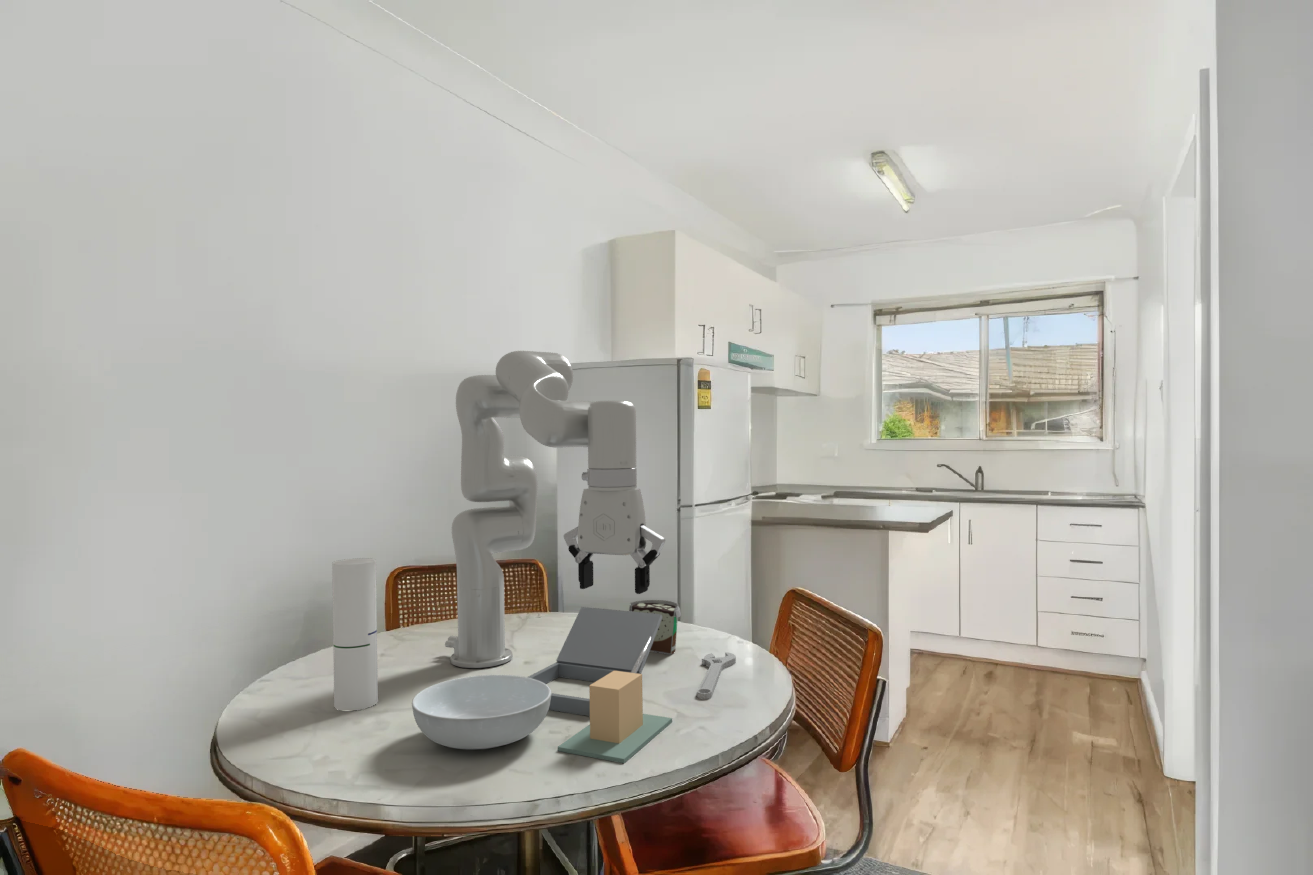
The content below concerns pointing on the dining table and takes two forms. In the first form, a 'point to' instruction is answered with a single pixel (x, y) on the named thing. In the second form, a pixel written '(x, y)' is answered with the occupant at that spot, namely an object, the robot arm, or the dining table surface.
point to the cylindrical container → (355, 633)
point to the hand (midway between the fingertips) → (613, 589)
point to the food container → (668, 624)
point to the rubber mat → (615, 751)
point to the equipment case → (600, 651)
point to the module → (616, 706)
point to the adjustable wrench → (713, 673)
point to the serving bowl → (481, 710)
